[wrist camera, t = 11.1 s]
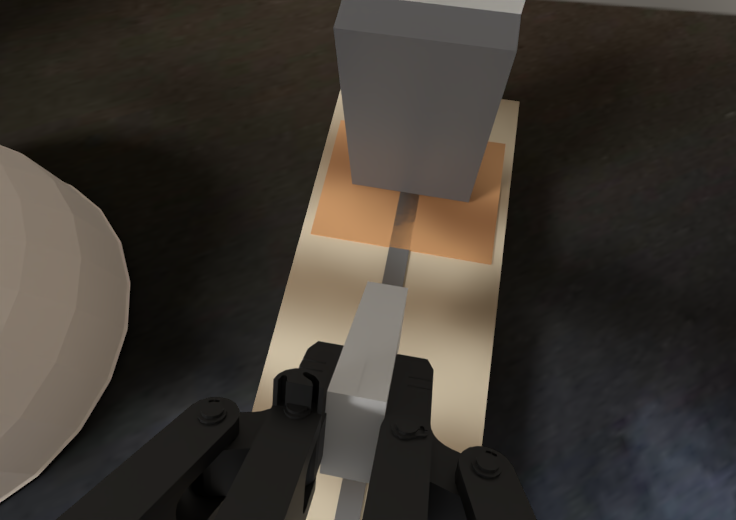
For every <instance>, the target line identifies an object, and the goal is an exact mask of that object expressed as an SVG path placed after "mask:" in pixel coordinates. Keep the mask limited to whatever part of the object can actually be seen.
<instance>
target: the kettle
mask: <svg viewBox="0 0 736 520" xmlns="http://www.w3.org/2000/svg"><path fill="white" fill-rule="evenodd" d="M129 298H130V279H129V274H128V270H127V266H126V261H125V257H124V253H123V248H122V244H121V241H120V240H119V238H118V236H117V235H116V233H115V231H114V230H113V228H112V227H111V225H110V223H109V222H108V220H107V218H106V217H105V215H104V214H103V212H102V210H101V209H100V208H99V207H97V206H96V205H95V204H94V203H93V202H91V201H90V200H89V199H88V198H87V197H85V196H84V195H83V194H82V193H80V192H79V191H78V190H77V189H76V188H74V187H73V186H72V185H69V184H67V183H64V182H63V181H61V180H60V179H59V178H57V177H56V176H54V175H53V174H51V173H50V172H48V171H47V170H45V169H44V168H42V167H41V166H40V165H38V164H37V163H35V162H34V161H32V160H31V159H29V158H28V157H26V156H25V155H23V154H22V153H19V152H17V151H14V150H12V149H9V148H7V147H4V146H2V145H0V502H2V501H3V500H5V499H6V498H7V497H9V496H10V495H12V494H13V493H15V492H16V491H17V490H19V489H20V488H22V487H23V486H25V485H26V484H27V483H29V482H30V481H32V480H33V479H35V478H36V477H37V476H38V475H39V474H40V473H41V472H42V471H43V470H44V469H45V468H46V467H47V466H48V465H49V464H50V463H51V462H52V460H53V459H54V458H55V457H56V456H57V455H58V454H59V453H60V452H61V451H62V450H63V449H64V448H65V447H66V445H67V444H68V443H69V442H70V441H71V440H72V439H73V438H74V437H75V436H76V435H77V434H78V433H79V432H80V430H81V429H82V427H83V426H84V424H85V422H86V421H87V419H88V417H89V416H90V414H91V412H92V411H93V409H94V407H95V406H96V404H97V402H98V401H99V399H100V397H101V396H102V394H103V392H104V391H105V389H106V387H107V386H108V384H109V382H110V381H111V378H112V375H113V372H114V369H115V366H116V363H117V360H118V357H119V354H120V351H121V348H122V345H123V342H124V339H125V336H126V333H127V330H128V314H129Z"/></svg>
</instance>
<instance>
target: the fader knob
mask: <svg viewBox="0 0 736 520" xmlns="http://www.w3.org/2000/svg"><path fill="white" fill-rule="evenodd" d="M524 3H525V0H342V1H341V5H340V8H339V11H338V15H337V18H336V21H335V25H334V36H335V44H336V53H337V61H338V69H339V78H340V86H341V94H342V103H343V111H344V119H345V128H346V136H347V144H348V153H349V161H350V170H351V178H352V184H355V185H362V186H368V187H374V188H381V189H387V190H393V191H400V192H406V193H412V194H419V195H425V196H431V197H438V198H444V199H450V200H456V201H463V202H469V200H470V197H471V194H472V190H473V187H474V184H475V181H476V178H477V175H478V172H479V168H480V165H481V162H482V159H483V156H484V153H485V150H486V146H487V143H488V140H489V137H490V134H491V131H492V127H493V124H494V121H495V118H496V115H497V112H498V109H499V105H500V102H501V99H502V96H503V93H504V90H505V87H506V83H507V80H508V77H509V74H510V71H511V68H512V64H513V61H514V58H515V55H516V52H517V45H518V36H519V28H520V19H521V13H522V10H523V6H524Z"/></svg>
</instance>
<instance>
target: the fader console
mask: <svg viewBox="0 0 736 520" xmlns="http://www.w3.org/2000/svg"><path fill="white" fill-rule="evenodd" d="M518 111H519V101H511V100H504V99H501V102H500V105H499V109H498V112H497V115H496V118H495V121H494V124H493V127H492V131H491V134H490V137H489V140H488V143H487V146H486V150H485V153H484V156H483V159H482V162H481V165H480V168H479V172H478V175H477V178H476V181H475V184H474V187H473V190H472V194H471V197H470V200H469V202H463V201H456V200H450V199H444V198H438V197H431V196H425V195H419V194H412V193H406V192H400V191H393V190H387V189H381V188H374V187H368V186H362V185H355V184H352V178H351V170H350V161H349V153H348V144H347V136H346V128H345V119H344V111H343V103H342V94H341V90H340V93H339V97H338V101H337V104H336V108H335V112H334V115H333V119H332V123H331V126H330V130H329V133H328V137H327V141H326V144H325V148H324V152H323V155H322V159H321V163H320V166H319V170H318V173H317V177H316V181H315V184H314V188H313V192H312V195H311V199H310V203H309V206H308V210H307V213H306V217H305V221H304V224H303V228H302V232H301V235H300V239H299V243H298V246H297V250H296V253H295V257H294V261H293V264H292V268H291V272H290V275H289V279H288V283H287V286H286V290H285V293H284V297H283V301H282V304H281V308H280V312H279V315H278V319H277V323H276V326H275V330H274V333H273V337H272V341H271V344H270V348H269V352H268V355H267V359H266V363H265V366H264V370H263V373H262V377H261V381H260V384H259V388H258V392H257V395H256V399H255V403H254V406H253V410H252V412H257V411H263V410H267V409H270V408H271V407H272V402H273V379H274V378H275V377H276V376H277V375H278V374H279V373H281V372H283V371H285V370H288V369H294V368H299V365H300V363H301V361H302V360H303V357H304V355H305V353H306V351H307V349H308V348H309V347H311V346H312V345H313V344H315V343H316V342H318V341H321V342H327V343H333V344H338V345H344V344H345V341H346V339H347V336H348V333H349V331H350V328H351V325H352V322H353V320H354V317H355V314H356V312H357V309H358V306H359V304H360V301H361V298H362V295H363V293H364V290H365V287H366V285H367V282H368V281H369V282H375V283H381V284H387V285H393V286H399V287H405V288H408V292H407V298H406V305H405V311H404V318H403V325H402V331H401V338H400V344H399V351H398V354H401V355H407V356H412V357H418V358H424V359H428V361H429V362H430V364H431V366H432V368H433V370H434V373H433V390H432V408H431V429H432V431H433V434H434V435H435V436H436V438H437V439H438V440H439V441H440V442H441V443H443V444H444V445H445V446H447V447H449V448H451V449H453V450H455V451H457V452H459V453H462V451H464V450H465V449H467V448H469V447H474V446H482V440H483V431H484V422H485V412H486V403H487V394H488V385H489V376H490V367H491V358H492V348H493V339H494V330H495V321H496V312H497V303H498V294H499V284H500V275H501V266H502V257H503V248H504V239H505V230H506V220H507V211H508V202H509V193H510V184H511V175H512V166H513V156H514V147H515V138H516V129H517V120H518ZM368 487H369V483H365V482H360V481H355V480H350V479H345V478H340V477H335V476H330V475H326V474H321V473H320V466H319V469H318V472H317V475H316V487H315V492H314V495H313V498H312V502H311V505H310V508H309V511H308V515H307V518H306V520H362V517H363V512H364V507H365V502H366V497H367V492H368Z"/></svg>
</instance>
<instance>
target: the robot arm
mask: <svg viewBox="0 0 736 520" xmlns="http://www.w3.org/2000/svg"><path fill="white" fill-rule="evenodd" d="M407 292H408V288H405V287H399V286H393V285H387V284H381V283H375V282H369V281H368V282H367V285H366V287H365V290H364V293H363V295H362V298H361V301H360V304H359V306H358V309H357V312H356V314H355V317H354V320H353V322H352V325H351V328H350V331H349V333H348V336H347V339H346V341H345V344H344V345H338V344H333V343H327V342H321V341H318V342H316V343H315V344H313V345H312V346H311V347H309V348H308V349H307V351H306V353H305V355H304V357H303V360H302V361H301V363H300V365H299V368H294V369H288V370H285V371H283V372H281V373H279V374H278V375H277V376H276V377H275V378H274V379H273V402H272V407H271V408H270V409H267V410H263V411H257V412H240V413H239V408H238V406H237V405H236V403H234V402H233V401H231V400H229V399H226V398H221V397H210V398H206V399H203V400H199V401H198V402H196V403H194V404H193V405H191V406H190V407H189V408H188V409H186V410H185V411H184V412H183V413H182V414H180V415H179V416H178V417H177V418H176V419H175V420H173V421H172V422H171V423H170V424H169V425H167V426H166V427H165V428H164V429H163V430H162V431H160V432H159V433H158V434H157V435H156V436H154V437H153V438H152V439H151V440H150V441H149V442H147V443H146V444H145V445H144V446H143V447H141V448H140V449H139V450H138V451H137V452H136V453H134V454H133V455H132V456H131V457H130V458H128V459H127V460H126V461H125V462H124V463H123V464H121V465H120V466H119V467H118V468H117V469H115V470H114V471H113V472H112V473H111V474H109V475H108V476H107V477H106V478H105V479H104V480H102V481H101V482H100V483H99V484H98V485H96V486H95V487H94V488H93V489H92V490H91V491H89V492H88V493H87V494H86V495H85V496H83V497H82V498H81V499H80V500H79V501H78V502H76V503H75V504H74V505H73V506H72V507H70V508H69V509H68V510H67V511H66V512H65V513H63V514H62V515H61V516H60V517H59V518H57V519H56V520H306V518H307V515H308V511H309V508H310V505H311V502H312V498H313V495H314V492H315V487H316V475H317V472H318V469H319V466H320V473H321V474H326V475H330V476H335V477H340V478H345V479H350V480H355V481H360V482H365V483H369V487H368V492H367V497H366V502H365V507H364V512H363V517H362V520H537V519H536V517H535V515H534V513H533V510H532V508H531V506H530V504H529V501H528V499H527V497H526V495H525V492H524V490H523V488H522V486H521V483H520V481H519V479H518V477H517V474H516V472H515V470H514V468H513V466H512V465H511V463H510V462H509V460H508V459H507V458H506V457H505V456H503V455H502V454H501V453H500V452H498V451H495V450H493V449H491V448H488V447H482V446H474V447H469V448H467V449H465V450H464V451H462V453H459V452H457V451H455V450H453V449H451V448H449V447H447V446H445V445H444V444H443V443H441V442H440V441H439V440H438V439H437V438H436V436H435V435H434V434H433V431H432V429H431V408H432V390H433V373H434V370H433V368H432V366H431V364H430V362H429V361H428V359H424V358H418V357H412V356H407V355H401V354H398V351H399V344H400V338H401V331H402V325H403V318H404V311H405V305H406V298H407Z"/></svg>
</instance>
